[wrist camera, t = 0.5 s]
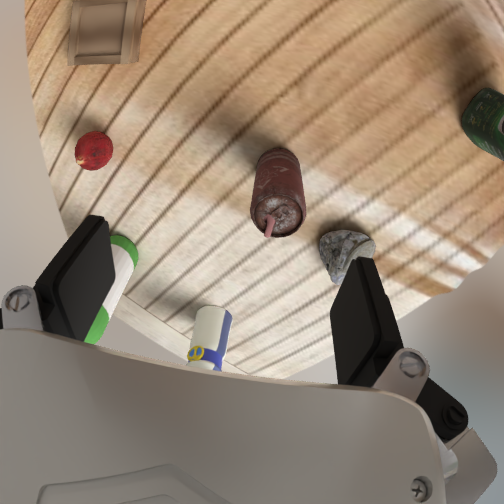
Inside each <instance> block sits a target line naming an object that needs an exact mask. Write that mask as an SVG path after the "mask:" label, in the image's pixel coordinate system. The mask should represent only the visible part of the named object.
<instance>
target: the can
mask: <svg viewBox="0 0 504 504" xmlns="http://www.w3.org/2000/svg"><path fill="white" fill-rule="evenodd" d="M250 213H251V219H252V220H253V222H254V224H255V225H256V227H257V228H258V229H259V230H260V231H261V232H262V233H264V236H265V237H270V236H271V237H275V238H279V237H286V236H289V235H292V234H293V233H295V232H296V231H297V230H298V229H299V228H300V227H301V225H302V224H303V223H304V220H305V217H306V204H305V196H304V190H303V183H302V176H301V170H300V164H299V161H298V159H297V158H296V156H295V155H294V154H293V153H291V152H290V151H288V150H285V149H281V148H280V149H272V150H269V151H267V152H265V153H264V154H263V155H262V156H261V157H260V159H259V160H258V164H257V170H256V176H255V182H254V188H253V195H252V201H251V207H250Z"/></svg>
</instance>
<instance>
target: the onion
mask: <svg viewBox="0 0 504 504" xmlns="http://www.w3.org/2000/svg"><path fill="white" fill-rule="evenodd" d="M112 153H113V144H112V141H111V139H110V138H109V137H108V136H107V135H105V134H104V133H102V132H98V131H93V132H89V133H86V134H85V135H84V136H82V137H81V138H80V139H79V140H78V142H77V144H76V147H75V158H76V163H78V165H80V166H81V167H82V168H83V169H86V170H90V171H91V170H98V169H100V168H102V167H103V166H105V165H106V164H107V163H108V161H109V160H110V159H111V157H112Z"/></svg>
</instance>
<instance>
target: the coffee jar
mask: <svg viewBox="0 0 504 504" xmlns="http://www.w3.org/2000/svg"><path fill="white" fill-rule="evenodd" d="M462 127H463V130H464V132H465V133H466V135H467V136H468V137H469V139H470V140H471V141H472V142H473V143H474V144H475V145H476V146H478V147H479V148H481V149H483V150H484V151H486V152H488V153H490V154H492V155H494V156H496V157H497V158H499V159H501V160H503V161H504V95H503V94H502V93H500V92H498V91H496V90H494V89H491V88H485V89H483V90H481V91H480V92H479V93H478V94H477V95H476V96H475V97H474V99H473V100H472V101H471V103H470V104H469V105H468V107H467V109H466V110H465V112H464V114H463V116H462Z"/></svg>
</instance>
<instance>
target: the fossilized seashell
mask: <svg viewBox="0 0 504 504" xmlns="http://www.w3.org/2000/svg"><path fill="white" fill-rule="evenodd" d="M375 248H376V245H375V243H374V242H373V240H372V239H370V238H369V237H368V236H366V235H364V234H362V233H360V232H354V231H349V230H338V231H331V232H329V233H327V234H325V235H323V236H322V238H321V239H320V250H319V251H320V255H321V259H322V261H323V263H324V264H325V266H326V269H327V270H328V273H329V275H330V276H331V280H332V282H334V283H335V284H337V285H339V284H342V282H343V279H344V277H345V275H346V272H347V270H348V267H349V265H350V263H351V261H352V259H356V258H357V257H358V256H361V257H367V258H372V257H373V254H374V252H375Z"/></svg>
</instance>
